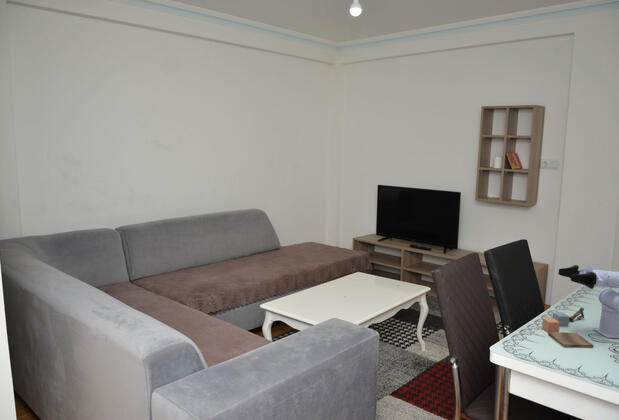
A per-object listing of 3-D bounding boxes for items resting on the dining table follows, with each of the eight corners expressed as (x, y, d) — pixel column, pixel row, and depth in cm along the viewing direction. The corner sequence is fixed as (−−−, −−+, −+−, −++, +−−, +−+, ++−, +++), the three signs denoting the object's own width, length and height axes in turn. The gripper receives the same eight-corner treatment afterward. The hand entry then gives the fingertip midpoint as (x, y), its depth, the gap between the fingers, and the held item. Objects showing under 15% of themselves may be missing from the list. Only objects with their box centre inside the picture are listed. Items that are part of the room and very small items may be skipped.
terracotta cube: (552, 328, 172) (553, 318, 171) (558, 333, 168) (559, 322, 168) (541, 328, 172) (543, 318, 171) (547, 332, 168) (548, 322, 167)
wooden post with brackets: (587, 316, 183) (585, 307, 181) (574, 328, 180) (572, 318, 178) (582, 315, 184) (580, 305, 183) (569, 326, 181) (567, 316, 180)
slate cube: (562, 322, 178) (563, 312, 178) (568, 326, 174) (569, 316, 174) (551, 322, 178) (553, 312, 177) (557, 326, 174) (558, 316, 174)
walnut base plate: (575, 335, 166) (575, 332, 166) (593, 347, 156) (593, 345, 156) (547, 334, 166) (548, 332, 166) (563, 347, 156) (564, 344, 156)
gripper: (592, 262, 172) (556, 258, 172) (618, 273, 158) (579, 269, 157) (588, 280, 173) (552, 277, 173) (614, 293, 159) (575, 289, 158)
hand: (565, 274), depth 165 cm, fingers open, 7 cm apart
